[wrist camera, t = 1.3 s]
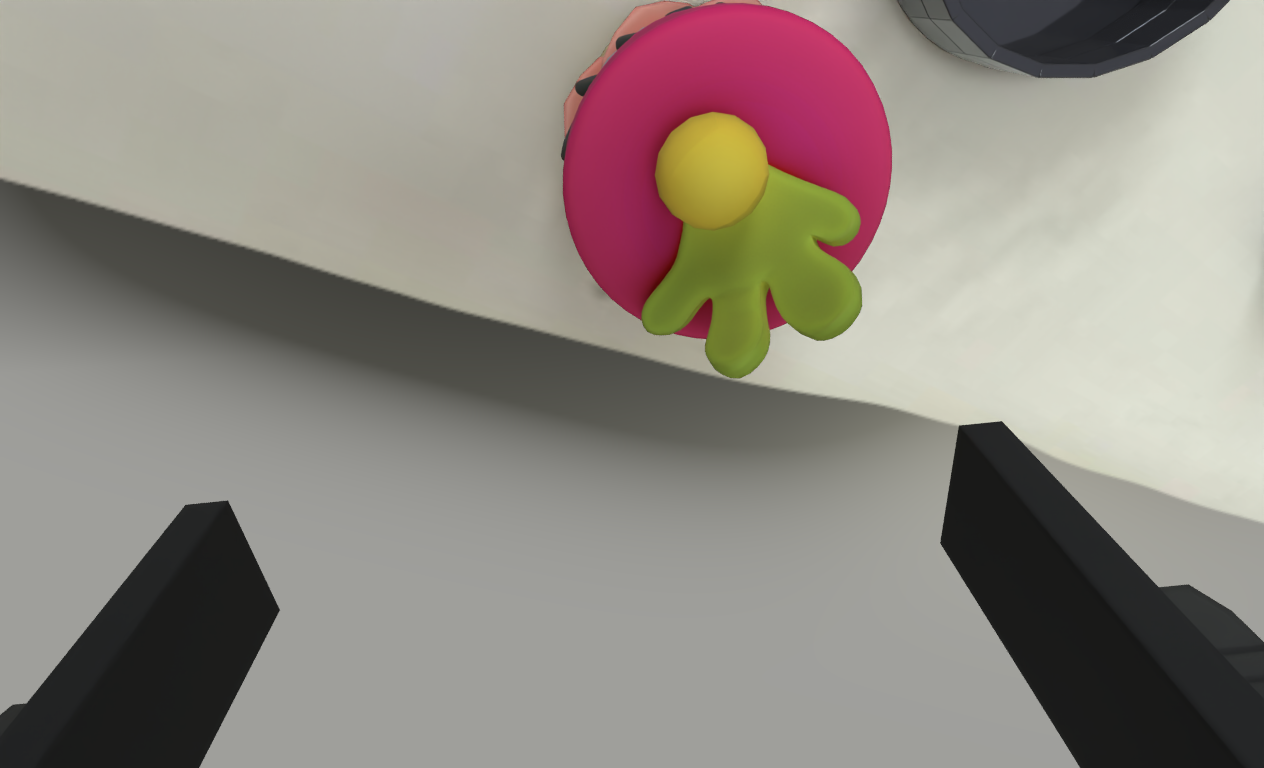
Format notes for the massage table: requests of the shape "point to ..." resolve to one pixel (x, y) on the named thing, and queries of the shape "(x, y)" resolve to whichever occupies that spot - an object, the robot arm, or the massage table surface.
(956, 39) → the pan
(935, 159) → the massage table surface
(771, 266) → the cake
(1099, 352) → the massage table surface
